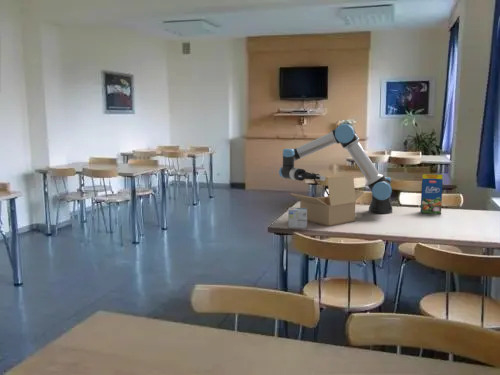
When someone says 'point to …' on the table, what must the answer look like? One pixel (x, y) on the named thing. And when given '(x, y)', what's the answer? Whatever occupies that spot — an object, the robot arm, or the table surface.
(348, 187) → the carton flap
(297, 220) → the light bulb box
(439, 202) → the blue food package
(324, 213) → the carton
